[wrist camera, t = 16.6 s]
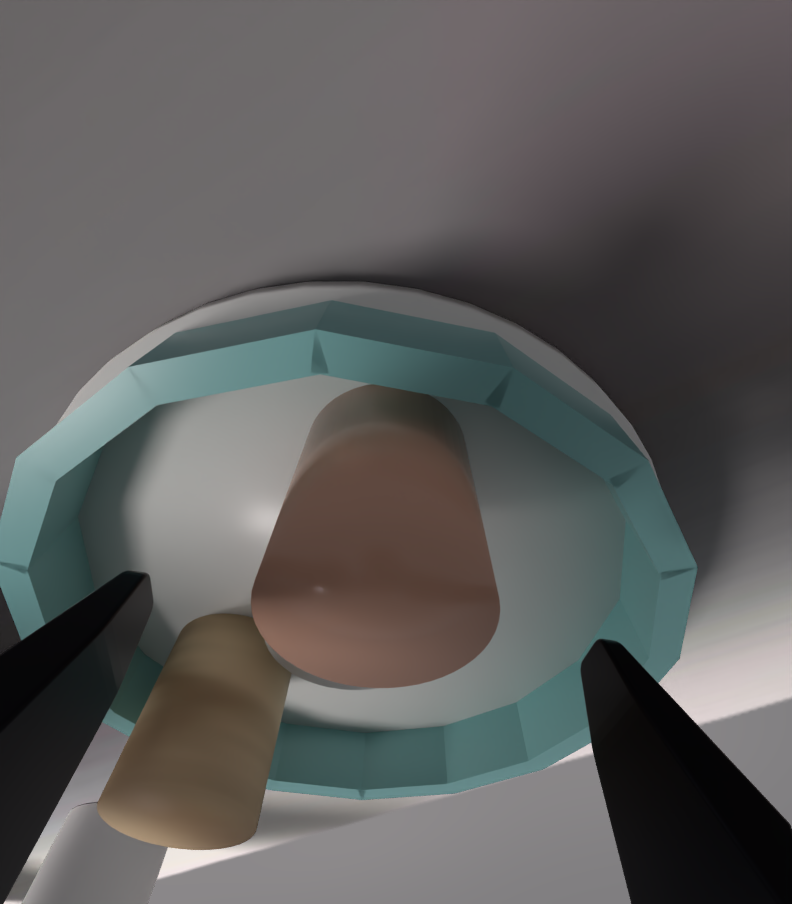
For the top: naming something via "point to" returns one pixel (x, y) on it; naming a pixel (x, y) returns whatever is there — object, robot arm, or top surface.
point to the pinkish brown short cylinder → (379, 547)
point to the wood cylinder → (201, 741)
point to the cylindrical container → (95, 864)
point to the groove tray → (266, 484)
